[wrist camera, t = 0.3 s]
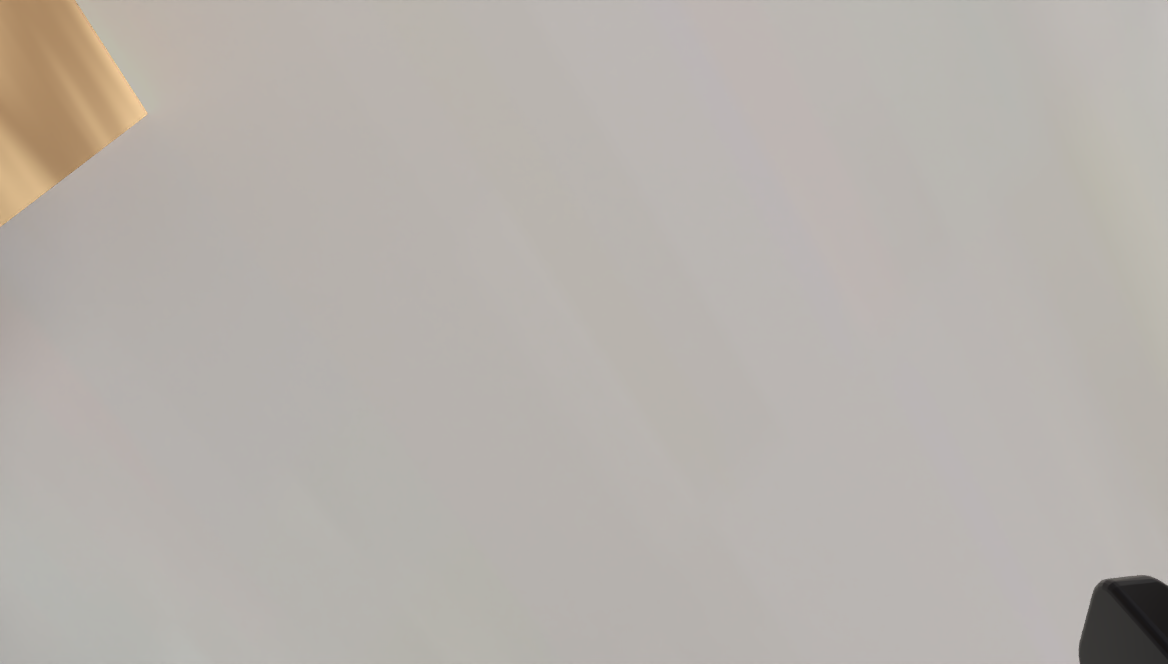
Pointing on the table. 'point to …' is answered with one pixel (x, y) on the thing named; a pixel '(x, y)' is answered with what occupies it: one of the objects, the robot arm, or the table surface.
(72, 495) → the table surface
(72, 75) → the peg
